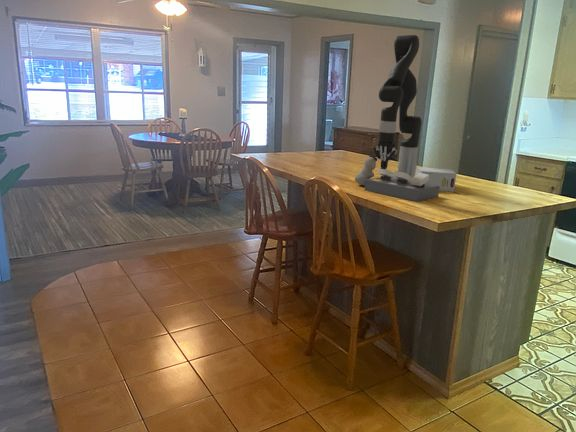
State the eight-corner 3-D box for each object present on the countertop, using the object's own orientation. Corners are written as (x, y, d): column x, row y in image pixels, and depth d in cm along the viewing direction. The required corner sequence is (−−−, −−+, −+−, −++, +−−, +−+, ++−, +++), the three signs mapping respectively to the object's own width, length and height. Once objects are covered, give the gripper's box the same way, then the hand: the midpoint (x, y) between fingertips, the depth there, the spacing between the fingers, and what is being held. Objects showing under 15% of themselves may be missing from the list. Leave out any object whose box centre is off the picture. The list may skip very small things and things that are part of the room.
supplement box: (418, 189, 222) (421, 170, 219) (414, 184, 235) (416, 166, 232) (454, 192, 220) (457, 172, 218) (448, 186, 233) (450, 168, 231)
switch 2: (401, 179, 214) (402, 174, 214) (410, 181, 210) (411, 176, 210) (393, 175, 209) (394, 170, 209) (402, 177, 205) (404, 172, 205)
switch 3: (419, 177, 207) (419, 172, 206) (429, 179, 204) (429, 174, 203) (410, 184, 204) (410, 179, 202) (420, 186, 200) (420, 181, 199)
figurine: (374, 187, 221) (377, 157, 217) (353, 186, 223) (356, 155, 219) (375, 184, 229) (377, 154, 225) (354, 183, 231) (357, 153, 227)
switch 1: (385, 176, 220) (386, 171, 220) (393, 178, 216) (395, 173, 216) (377, 172, 215) (378, 167, 215) (386, 174, 212) (387, 169, 211)
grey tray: (387, 185, 227) (388, 173, 226) (438, 196, 208) (440, 182, 206) (364, 190, 215) (365, 176, 214) (416, 201, 196) (418, 187, 194)
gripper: (404, 132, 207) (400, 170, 211) (380, 129, 216) (376, 166, 221) (394, 132, 202) (390, 171, 206) (370, 130, 211) (367, 167, 216)
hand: (383, 168), depth 213 cm, fingers closed
